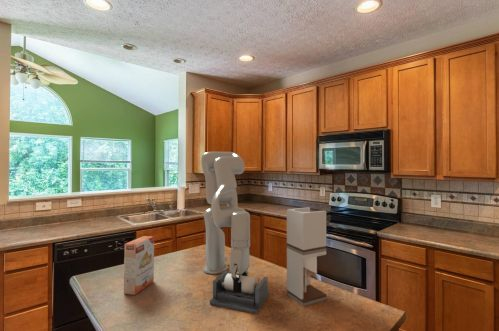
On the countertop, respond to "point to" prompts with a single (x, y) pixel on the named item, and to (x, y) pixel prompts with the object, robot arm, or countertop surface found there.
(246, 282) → the kitchen roll
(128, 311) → the countertop surface
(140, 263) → the cracker box
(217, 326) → the countertop surface
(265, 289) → the roll holder
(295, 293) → the white stand
